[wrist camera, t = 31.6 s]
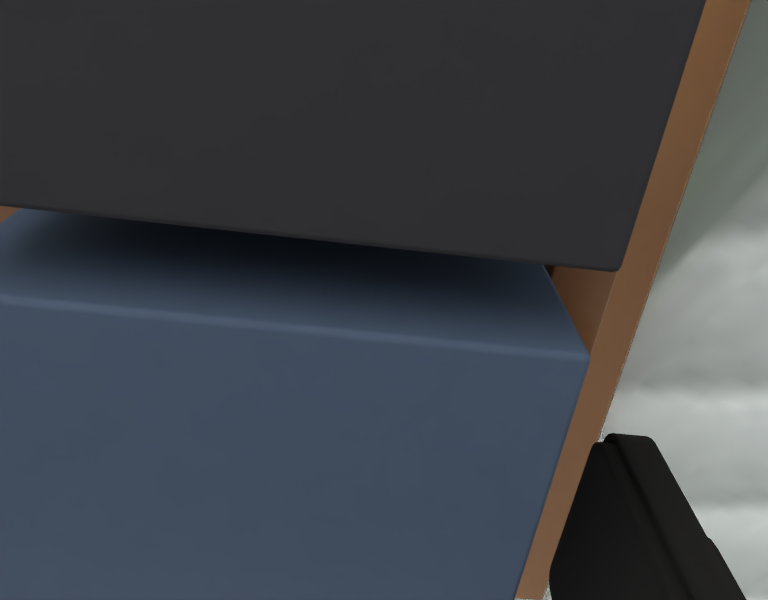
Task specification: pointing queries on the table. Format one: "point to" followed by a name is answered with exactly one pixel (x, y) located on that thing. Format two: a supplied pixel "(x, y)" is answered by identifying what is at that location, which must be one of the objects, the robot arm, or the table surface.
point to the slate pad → (271, 415)
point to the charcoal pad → (348, 118)
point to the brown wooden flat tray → (625, 275)
